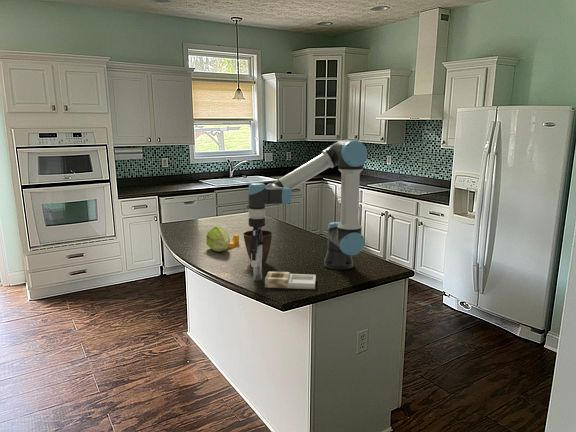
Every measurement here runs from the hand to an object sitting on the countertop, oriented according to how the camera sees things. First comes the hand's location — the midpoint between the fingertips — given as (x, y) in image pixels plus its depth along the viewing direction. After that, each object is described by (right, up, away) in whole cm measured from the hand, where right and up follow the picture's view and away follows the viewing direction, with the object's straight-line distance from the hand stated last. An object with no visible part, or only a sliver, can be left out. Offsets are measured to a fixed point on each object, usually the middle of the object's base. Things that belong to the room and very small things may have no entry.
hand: (256, 262), depth 198 cm
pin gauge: (0, -8, +2) cm, 8 cm away
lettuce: (-24, +1, +46) cm, 52 cm away
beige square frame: (+10, -9, -4) cm, 14 cm away
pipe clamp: (-19, +3, +56) cm, 60 cm away
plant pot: (-1, -3, +27) cm, 27 cm away
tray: (+21, -9, -4) cm, 23 cm away
